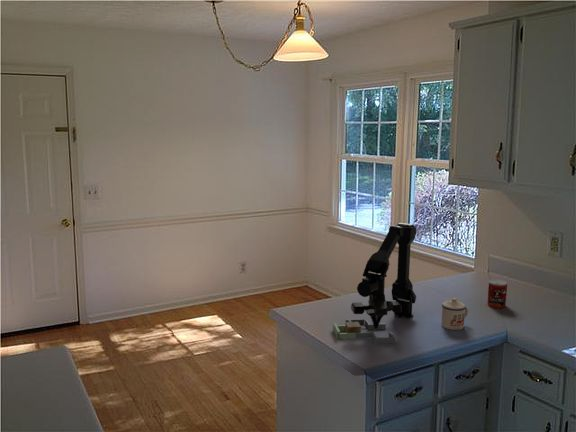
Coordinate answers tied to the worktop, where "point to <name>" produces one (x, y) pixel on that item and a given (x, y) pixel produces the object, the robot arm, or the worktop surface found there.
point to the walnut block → (352, 327)
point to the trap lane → (368, 326)
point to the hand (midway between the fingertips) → (375, 328)
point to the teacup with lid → (453, 314)
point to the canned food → (497, 293)
